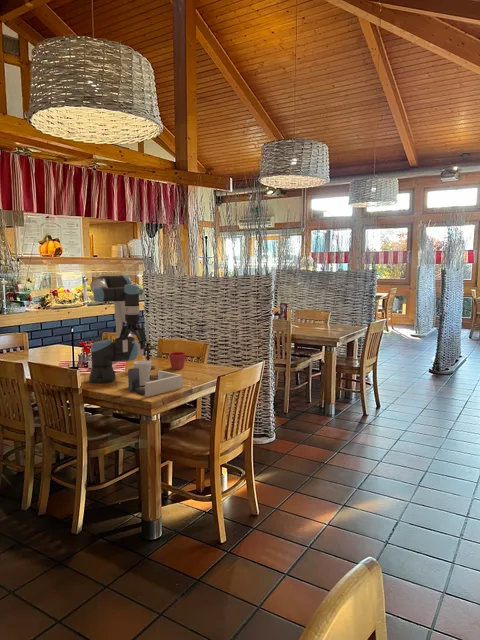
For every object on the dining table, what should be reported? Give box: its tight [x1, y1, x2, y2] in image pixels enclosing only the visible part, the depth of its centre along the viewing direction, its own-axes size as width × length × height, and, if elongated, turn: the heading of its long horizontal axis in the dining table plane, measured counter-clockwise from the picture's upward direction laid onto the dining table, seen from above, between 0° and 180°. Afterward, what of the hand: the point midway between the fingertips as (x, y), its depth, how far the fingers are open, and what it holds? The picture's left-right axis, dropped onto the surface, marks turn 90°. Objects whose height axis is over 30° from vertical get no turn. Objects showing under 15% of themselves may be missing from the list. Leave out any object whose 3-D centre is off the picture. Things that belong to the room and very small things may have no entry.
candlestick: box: [144, 315, 157, 371], centre depth 309 cm, size 11×11×35 cm
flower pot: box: [168, 351, 187, 370], centre depth 313 cm, size 11×11×10 cm
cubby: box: [144, 370, 184, 398], centre depth 258 cm, size 19×24×7 cm
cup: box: [133, 360, 152, 387], centre depth 267 cm, size 10×10×13 cm
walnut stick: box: [149, 373, 158, 381], centre depth 280 cm, size 16×3×3 cm, turn 120°
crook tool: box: [127, 367, 145, 396], centre depth 258 cm, size 14×20×12 cm
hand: (133, 353), depth 253 cm, fingers open, 13 cm apart
